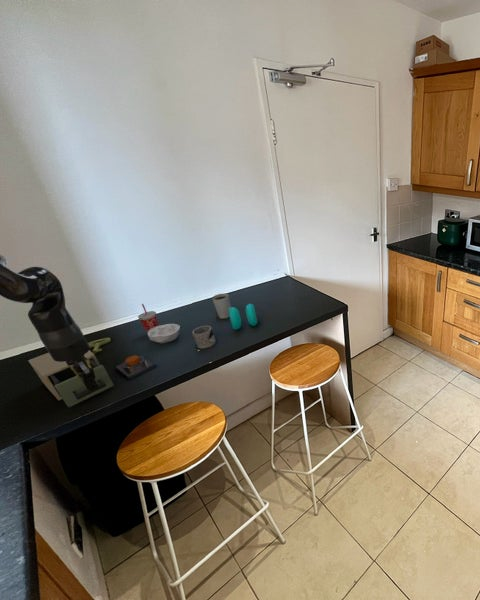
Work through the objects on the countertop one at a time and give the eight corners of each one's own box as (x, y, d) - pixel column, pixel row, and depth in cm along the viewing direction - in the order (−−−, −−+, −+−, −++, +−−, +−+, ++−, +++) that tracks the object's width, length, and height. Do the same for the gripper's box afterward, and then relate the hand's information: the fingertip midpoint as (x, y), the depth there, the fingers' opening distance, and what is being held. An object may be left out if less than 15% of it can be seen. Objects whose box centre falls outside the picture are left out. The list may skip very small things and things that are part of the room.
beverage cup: (144, 338, 131) (131, 308, 125) (146, 331, 136) (134, 302, 130) (162, 334, 134) (150, 305, 127) (163, 327, 139) (152, 299, 132)
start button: (141, 361, 113) (139, 357, 112) (129, 366, 110) (128, 362, 109) (137, 358, 115) (135, 354, 114) (125, 363, 112) (123, 359, 111)
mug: (215, 345, 126) (210, 332, 123) (196, 350, 124) (191, 336, 120) (216, 333, 134) (212, 320, 131) (198, 337, 132) (193, 324, 129)
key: (94, 356, 120) (92, 352, 119) (86, 345, 126) (84, 341, 125) (118, 347, 125) (115, 343, 124) (108, 337, 132) (106, 333, 131)
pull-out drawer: (119, 390, 102) (109, 370, 99) (74, 413, 94) (60, 392, 90) (97, 371, 111) (87, 352, 107) (54, 391, 102) (40, 371, 98)
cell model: (165, 332, 135) (159, 318, 132) (189, 335, 133) (184, 321, 130) (144, 345, 126) (137, 331, 123) (169, 348, 124) (163, 334, 121)
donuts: (233, 323, 142) (227, 304, 137) (257, 318, 146) (252, 299, 141) (234, 334, 134) (228, 314, 129) (259, 328, 138) (254, 308, 133)
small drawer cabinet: (107, 377, 109) (94, 354, 105) (58, 400, 100) (42, 375, 95) (91, 364, 116) (78, 341, 111) (43, 384, 106) (27, 360, 102)
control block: (155, 366, 114) (152, 360, 113) (129, 379, 108) (126, 372, 107) (142, 358, 119) (139, 351, 118) (117, 369, 113) (113, 363, 112)
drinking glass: (236, 312, 150) (231, 294, 146) (226, 319, 145) (221, 300, 140) (224, 311, 152) (219, 292, 147) (214, 318, 146) (208, 298, 142)
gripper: (37, 339, 85) (68, 388, 93) (53, 355, 78) (85, 405, 86) (73, 326, 90) (100, 373, 98) (91, 340, 84) (118, 389, 92)
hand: (93, 388), depth 92 cm, fingers closed
